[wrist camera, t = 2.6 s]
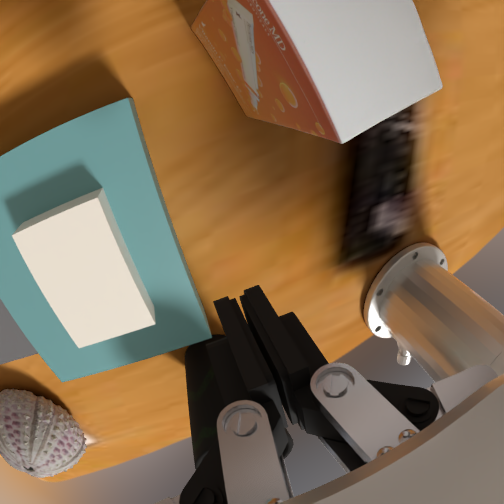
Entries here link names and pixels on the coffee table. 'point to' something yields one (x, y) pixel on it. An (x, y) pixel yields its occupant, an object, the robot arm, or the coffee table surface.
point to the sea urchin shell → (38, 434)
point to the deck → (130, 225)
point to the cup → (206, 400)
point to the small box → (320, 60)
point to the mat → (12, 338)
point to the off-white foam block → (85, 270)
